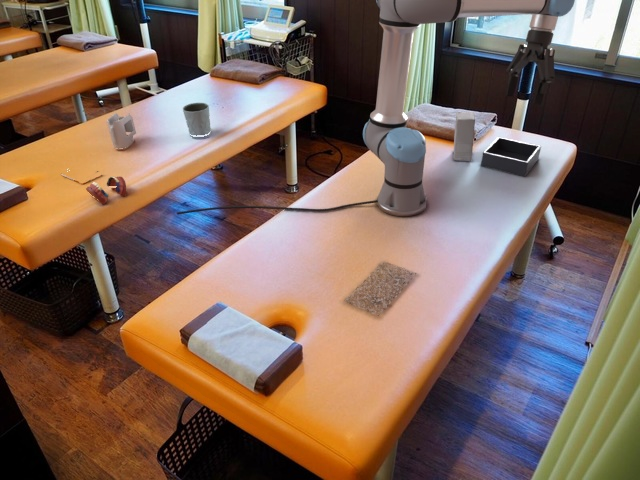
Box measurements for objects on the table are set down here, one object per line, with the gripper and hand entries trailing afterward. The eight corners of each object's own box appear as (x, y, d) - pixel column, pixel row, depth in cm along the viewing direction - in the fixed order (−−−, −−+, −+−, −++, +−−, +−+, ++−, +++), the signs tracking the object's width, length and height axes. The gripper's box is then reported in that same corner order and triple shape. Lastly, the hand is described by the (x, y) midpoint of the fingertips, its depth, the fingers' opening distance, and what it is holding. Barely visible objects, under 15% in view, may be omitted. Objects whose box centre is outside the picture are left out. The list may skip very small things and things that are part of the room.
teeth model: (126, 176, 175) (92, 190, 168) (131, 193, 179) (97, 207, 172) (114, 169, 180) (80, 182, 174) (119, 186, 184) (86, 199, 177)
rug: (343, 302, 130) (343, 299, 130) (383, 262, 143) (383, 259, 143) (378, 317, 126) (378, 314, 125) (416, 274, 139) (416, 271, 138)
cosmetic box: (471, 162, 192) (477, 120, 183) (451, 160, 193) (456, 119, 184) (470, 152, 198) (476, 111, 190) (451, 150, 200) (456, 110, 191)
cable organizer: (139, 139, 216) (132, 111, 209) (124, 152, 206) (117, 123, 199) (124, 138, 217) (117, 110, 210) (108, 151, 207) (100, 122, 200)
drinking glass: (217, 133, 219) (213, 105, 212) (200, 142, 212) (196, 113, 205) (199, 128, 224) (195, 100, 217) (182, 137, 217) (177, 108, 210)
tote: (524, 176, 182) (528, 162, 179) (480, 166, 189) (482, 152, 186) (538, 159, 192) (541, 146, 189) (495, 150, 200) (498, 136, 196)
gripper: (580, 35, 155) (559, 108, 164) (524, 28, 177) (507, 93, 185) (560, 32, 153) (539, 107, 161) (506, 26, 174) (490, 92, 182)
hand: (522, 100), depth 173 cm, fingers open, 13 cm apart
